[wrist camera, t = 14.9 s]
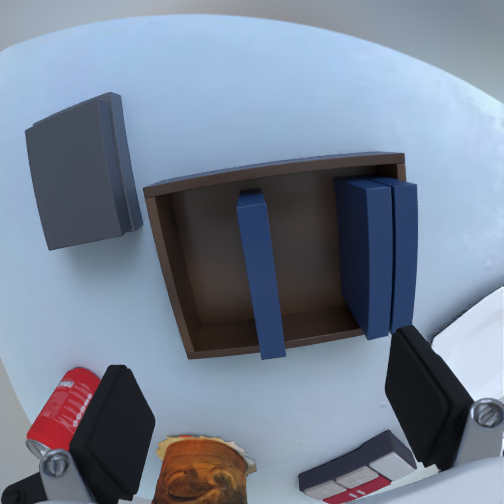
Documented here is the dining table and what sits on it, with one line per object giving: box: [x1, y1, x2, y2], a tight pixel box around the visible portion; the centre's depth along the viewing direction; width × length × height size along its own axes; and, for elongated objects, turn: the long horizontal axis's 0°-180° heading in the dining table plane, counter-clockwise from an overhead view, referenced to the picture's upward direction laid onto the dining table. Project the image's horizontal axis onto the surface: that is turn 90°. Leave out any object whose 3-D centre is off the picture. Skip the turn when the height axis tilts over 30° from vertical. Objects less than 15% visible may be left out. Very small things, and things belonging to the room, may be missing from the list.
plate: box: [431, 286, 504, 402], centre depth 29 cm, size 23×23×2 cm
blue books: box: [333, 174, 418, 340], centre depth 21 cm, size 10×3×7 cm, turn 9°
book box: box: [143, 152, 406, 359], centre depth 23 cm, size 13×17×5 cm
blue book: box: [236, 188, 286, 360], centre depth 21 cm, size 10×2×7 cm, turn 9°
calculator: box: [299, 431, 417, 504], centre depth 34 cm, size 11×4×15 cm
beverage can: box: [26, 367, 101, 460], centre depth 24 cm, size 5×5×12 cm
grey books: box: [25, 92, 143, 250], centre depth 21 cm, size 11×8×4 cm
